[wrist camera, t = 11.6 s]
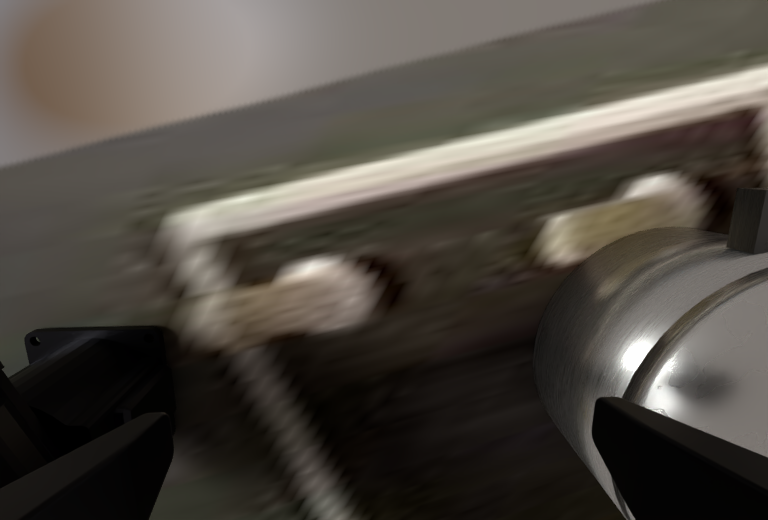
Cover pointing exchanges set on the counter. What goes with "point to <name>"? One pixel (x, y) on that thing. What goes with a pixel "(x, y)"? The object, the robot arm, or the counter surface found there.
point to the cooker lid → (712, 368)
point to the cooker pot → (633, 313)
